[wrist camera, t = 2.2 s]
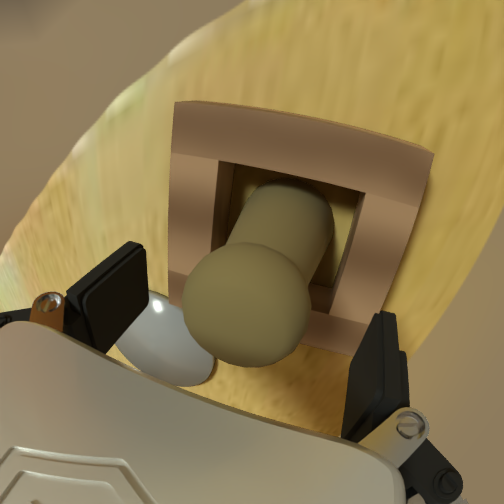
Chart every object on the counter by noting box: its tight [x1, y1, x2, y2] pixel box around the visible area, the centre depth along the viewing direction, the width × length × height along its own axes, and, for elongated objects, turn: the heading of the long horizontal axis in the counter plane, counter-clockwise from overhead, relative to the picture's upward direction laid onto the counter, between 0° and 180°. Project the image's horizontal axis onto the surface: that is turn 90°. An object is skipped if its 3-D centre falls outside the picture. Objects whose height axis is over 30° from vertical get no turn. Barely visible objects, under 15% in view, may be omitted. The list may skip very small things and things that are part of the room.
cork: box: [181, 178, 334, 367], centre depth 16 cm, size 6×6×11 cm
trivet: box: [115, 290, 215, 387], centre depth 29 cm, size 12×12×1 cm
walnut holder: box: [168, 101, 434, 357], centre depth 19 cm, size 14×14×3 cm
